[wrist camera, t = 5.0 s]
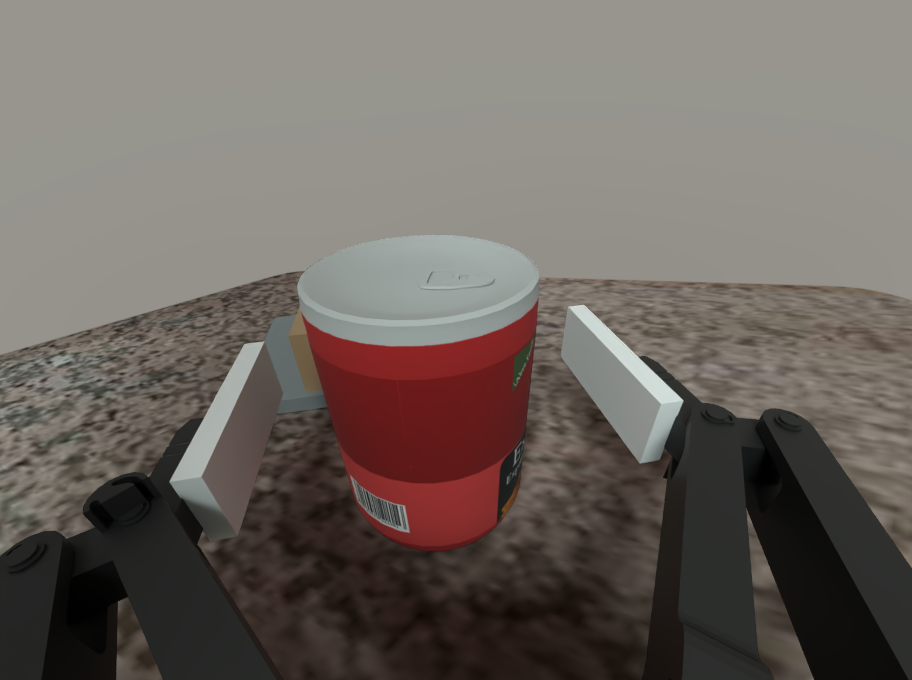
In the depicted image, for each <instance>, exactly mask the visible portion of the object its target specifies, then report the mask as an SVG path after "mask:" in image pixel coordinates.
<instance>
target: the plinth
mask: <svg viewBox="0 0 912 680" xmlns="http://www.w3.org/2000/svg"><path fill="white" fill-rule="evenodd" d="M264 341H265V344H266V347H267V350H268V352H269V355H270V358H271V361H272V363H273V366H274V369H275V372H276V375H277V377H278V380H279V383H280V386H281V388H282V391H283V396H282V399H281V402H280V405H279V408H278V411H277V414H283V413H290V412H297V411H304V410H311V409H318V408H325V407H327V403H326V400H325V396H324V393H323V390H322V386H321V383H320V379H319V376H318V372H317V369H316V366H315V362H314V359H313V355H312V352H311V349H310V345H309V342H308V337H307V332H306V328H305V325H304V321H303V318H302V314H301V311H300V306H299V308H298V311H297V314H296V315H293V316H284V317H275V318H274V320H273V322H272V325H271V327H270V329H269V331H268V333H267V335H266V338H265V340H264Z"/></svg>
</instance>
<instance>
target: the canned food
mask: <svg viewBox="0 0 912 680" xmlns="http://www.w3.org/2000/svg"><path fill="white" fill-rule="evenodd" d="M538 277H539V271H538V269H537V266H536V264H535V263H534V262H533V261H532V260H531V259H530V258H529V257H528V256H526V255H524V254H523V253H521V252H519V251H518V250H515V249H513V248H510V247H507V246H505V245H502V244H499V243H495V242H492V241H488V240H483V239H477V238H472V237H462V236H450V235H418V236H405V237H396V238H389V239H382V240H377V241H372V242H367V243H363V244H360V245H356V246H352V247H349V248H346V249H343V250H340V251H338V252H335V253H333V254H331V255H329V256H327V257H325V258H323V259H321V260H319V261H318V262H316V263H315V264H313V265H312V266H310V267H309V268H308V269H307V270H306V271H305V272H304V273H303V274H302V275H301V277H300V279H299V281H298V284H297V289H298V296H299V303H300V311H301V314H302V318H303V321H304V325H305V328H306V332H307V337H308V342H309V345H310V349H311V352H312V355H313V359H314V362H315V366H316V369H317V372H318V376H319V379H320V383H321V386H322V390H323V393H324V396H325V400H326V403H327V407H328V410H329V413H330V417H331V420H332V424H333V427H334V431H335V434H336V437H337V441H338V444H339V448H340V451H341V454H342V458H343V461H344V465H345V468H346V472H347V475H348V478H349V482H350V485H351V489H352V492H353V495H354V499H355V501H356V503H357V505H358V507H359V509H360V511H361V513H362V515H363V516H364V517H365V518H366V519H367V520H368V522H369V523H370V524H371V525H372V526H373V527H374V528H375V529H376V530H377V531H378V532H380V533H381V534H382V535H384V536H385V537H386V538H388V539H389V540H391V541H392V542H395V543H397V544H399V545H402V546H404V547H406V548H411V549H416V550H421V551H445V550H451V549H456V548H460V547H463V546H465V545H468V544H471V543H473V542H476V541H477V540H479V539H480V538H482V537H483V536H485V535H487V534H488V533H490V532H491V531H492V530H493V529H494V528H495V527H496V526H497V525H498V524H499V523H500V522H501V520H502V519H503V517H504V516H505V515H506V513H507V512H508V510H509V508H510V507H511V505H512V504H513V502H514V501H515V498H516V495H517V492H518V489H519V485H520V476H521V466H522V457H523V448H524V438H525V429H526V420H527V410H528V401H529V392H530V382H531V373H532V364H533V354H534V345H535V336H536V326H537V309H538V299H539V283H538Z"/></svg>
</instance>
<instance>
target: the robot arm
mask: <svg viewBox="0 0 912 680" xmlns="http://www.w3.org/2000/svg"><path fill="white" fill-rule="evenodd" d="M561 357H562V359H563V360H564V362H565V363H566V364H567V366H568V367H569V368H570V370H571V371H572V372H573V374H574V375H575V376H576V378H577V379H578V381H579V382H580V383H581V385H582V386H583V387H584V389H585V390H586V391H587V393H588V394H589V395H590V397H591V398H592V399H593V401H594V402H595V404H596V405H597V406H598V408H599V409H600V410H601V412H602V413H603V414H604V416H605V417H606V418H607V420H608V421H609V423H610V424H611V425H612V427H613V428H614V429H615V431H616V432H617V433H618V435H619V436H620V437H621V439H622V440H623V442H624V443H625V444H626V446H627V447H628V448H629V450H630V451H631V452H632V454H633V455H634V456H635V458H636V459H637V461H638V462H639V463H640V464H641V463H646V462H652V461H657V460H660V458H661V456H662V453H663V451H664V448H665V449H666V450H667V451H668V452H669V453H670V454H671V456H672V458H671V460H670V462H669V465H668V467H667V470H666V472H665V474H664V477H663V478H665V479H667V486H666V494H665V503H664V511H663V520H662V528H661V537H660V545H659V554H658V562H657V571H656V579H655V588H654V596H653V605H652V613H651V622H650V630H649V639H648V647H647V656H646V663H645V669H644V673H643V676H642V680H774V679H773V676H772V673H771V671H770V669H769V667H767V666H766V665H765V664H763V663H762V662H761V660H760V658H759V655H758V648H757V636H756V624H755V611H754V599H753V587H752V574H751V562H750V549H749V537H748V525H747V512H746V508H747V511H748V513H749V516H750V518H751V521H752V523H753V526H754V528H755V531H756V533H757V536H758V538H759V541H760V544H761V546H762V549H763V551H764V554H765V556H766V559H767V561H768V564H769V566H770V569H771V571H772V574H773V576H774V579H775V582H776V584H777V587H778V589H779V592H780V594H781V597H782V599H783V602H784V604H785V607H786V609H787V612H788V614H789V617H790V620H791V622H792V625H793V627H794V630H795V632H796V635H797V637H798V640H799V642H800V645H801V647H802V650H803V652H804V655H805V658H806V660H807V663H808V665H809V668H810V670H811V673H812V675H813V678H814V680H912V568H911V567H910V565H909V564H908V562H907V561H906V559H905V558H904V557H903V555H902V554H901V552H900V551H899V549H898V548H897V546H896V545H895V544H894V542H893V541H892V539H891V538H890V536H889V535H888V533H887V532H886V531H885V529H884V528H883V526H882V525H881V523H880V522H879V521H878V519H877V518H876V516H875V515H874V513H873V512H872V510H871V509H870V508H869V506H868V505H867V503H866V502H865V500H864V499H863V498H862V496H861V495H860V493H859V492H858V490H857V489H856V487H855V486H854V485H853V483H852V482H851V480H850V479H849V477H848V476H847V475H846V473H845V472H844V470H843V469H842V467H841V466H840V464H839V463H838V462H837V460H836V459H835V457H834V456H833V454H832V453H831V451H830V450H829V449H828V447H827V446H826V444H825V443H824V441H823V440H822V439H821V437H820V436H819V434H818V433H817V431H816V430H815V428H814V427H813V426H812V425H811V424H810V423H809V422H808V421H807V420H805V419H804V418H802V417H801V416H799V415H797V414H795V413H793V412H790V411H786V410H782V409H768V410H765V411H764V413H763V414H762V416H761V417H760V419H759V420H756V419H745V418H736V417H735V416H734V415H733V414H732V413H731V412H730V411H728V410H726V409H725V408H723V407H720V406H718V405H715V404H709V403H702V402H701V401H699V400H698V399H697V398H696V397H695V396H694V395H693V394H692V393H691V392H690V391H689V390H687V389H686V388H685V387H684V386H683V385H682V384H681V383H680V382H679V381H678V380H675V378H674V377H673V376H672V375H671V374H670V373H667V370H666V369H664V368H663V367H662V366H661V365H660V364H659V363H658V362H656V361H654V360H652V359H650V358H648V357H646V356H641V357H638V356H637V355H635V354H634V353H633V352H632V351H631V350H630V349H629V348H628V347H627V346H626V345H625V344H624V343H623V342H622V341H621V340H620V339H619V338H618V337H617V336H616V335H615V334H614V333H613V332H612V331H610V330H609V329H608V328H607V327H606V326H605V325H604V324H603V323H602V322H601V321H600V320H599V319H598V318H597V317H596V316H595V315H594V314H593V313H592V312H591V311H590V310H589V309H588V308H587V307H585V306H584V305H579V306H571V307H568V311H567V318H566V324H565V331H564V338H563V344H562V351H561ZM282 396H283V391H282V388H281V386H280V383H279V380H278V377H277V375H276V372H275V369H274V366H273V363H272V361H271V358H270V355H269V352H268V350H267V347H266V344H265V341H264V342H256V343H247V344H244V346H243V348H242V349H241V351H240V353H239V355H238V357H237V359H236V360H235V362H234V364H233V366H232V368H231V370H230V371H229V373H228V375H227V377H226V379H225V381H224V382H223V384H222V386H221V388H220V390H219V392H218V393H217V395H216V397H215V399H214V401H213V403H212V404H211V406H210V408H209V410H208V412H207V414H206V415H205V417H204V418H198V419H191V420H189V421H188V422H187V423H186V424H185V425H184V426H183V427H181V428H180V429H179V430H178V431H177V432H176V434H175V436H174V437H173V439H172V441H171V442H170V444H169V447H167V449H166V450H165V452H164V454H163V457H162V458H161V459H160V460H159V462H158V464H157V465H156V467H155V469H154V470H153V472H152V474H151V475H150V477H148V476H146V475H145V474H143V473H136V472H133V473H129V474H124V475H121V476H119V477H116V478H114V479H112V480H110V481H108V482H107V483H105V484H104V485H102V486H101V487H99V488H98V489H97V490H96V491H95V492H94V493H93V494H92V495H91V496H89V498H88V499H87V501H86V503H85V504H84V506H83V514H84V516H85V517H86V518H87V519H88V520H89V521H90V522H91V523H92V524H93V525H94V526H95V527H96V528H93V529H91V530H88V531H86V532H83V533H80V534H78V535H75V536H73V537H70V538H68V539H66V538H65V537H64V536H63V535H62V534H60V533H58V532H56V531H44V532H41V533H38V534H35V535H32V536H30V537H28V538H26V539H24V540H22V541H20V542H19V543H17V544H15V545H14V546H13V547H11V548H10V549H9V550H7V551H6V552H5V553H3V554H2V555H1V556H0V680H116V660H117V612H118V601H120V600H122V599H124V598H126V597H129V600H130V602H131V604H132V607H133V609H134V611H135V614H136V616H137V619H138V621H139V623H140V626H141V628H142V630H143V633H144V635H145V638H146V640H147V642H148V645H149V647H150V650H151V652H152V654H153V657H154V659H155V661H156V664H157V666H158V669H159V671H160V673H161V676H162V678H163V680H284V679H283V678H282V676H281V674H280V673H279V671H278V670H277V668H276V667H275V665H274V663H273V662H272V660H271V659H270V657H269V656H268V654H267V652H266V651H265V649H264V648H263V646H262V645H261V643H260V641H259V640H258V638H257V637H256V635H255V634H254V632H253V630H252V629H251V627H250V626H249V624H248V623H247V621H246V619H245V618H244V616H243V615H242V613H241V611H240V610H239V608H238V607H237V605H236V604H235V602H234V600H233V599H232V597H231V596H230V594H229V593H228V591H227V589H226V588H225V586H224V585H223V583H222V582H221V580H220V578H219V577H218V575H217V574H216V572H215V571H214V569H213V567H212V566H211V564H210V563H209V561H208V560H207V558H206V556H205V555H204V553H203V552H202V550H201V549H200V547H199V546H198V545H197V543H198V541H199V538H200V536H201V533H202V531H204V533H205V534H206V536H207V537H208V539H209V540H210V541H215V540H220V539H226V538H231V537H237V536H238V534H239V531H240V528H241V525H242V522H243V518H244V515H245V512H246V509H247V506H248V503H249V500H250V496H251V493H252V490H253V487H254V484H255V481H256V478H257V474H258V471H259V468H260V465H261V462H262V459H263V456H264V452H265V449H266V446H267V443H268V440H269V437H270V434H271V430H272V427H273V424H274V421H275V418H276V415H277V411H278V408H279V405H280V402H281V399H282Z"/></svg>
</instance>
